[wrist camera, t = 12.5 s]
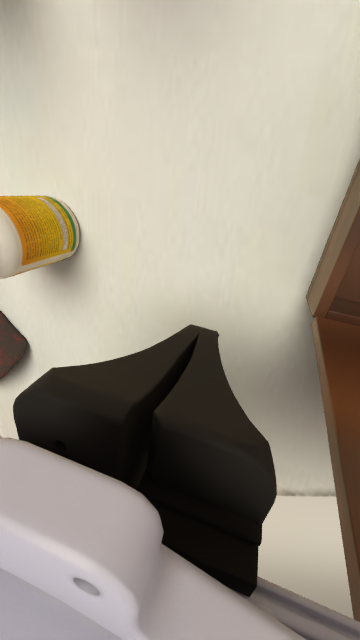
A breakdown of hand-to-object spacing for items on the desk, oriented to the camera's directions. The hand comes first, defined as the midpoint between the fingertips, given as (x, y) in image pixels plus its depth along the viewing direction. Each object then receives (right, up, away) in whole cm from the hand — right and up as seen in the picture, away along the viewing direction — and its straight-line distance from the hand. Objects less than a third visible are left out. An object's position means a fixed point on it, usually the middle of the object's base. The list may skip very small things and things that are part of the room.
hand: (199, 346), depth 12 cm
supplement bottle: (-12, +10, +12) cm, 19 cm away
